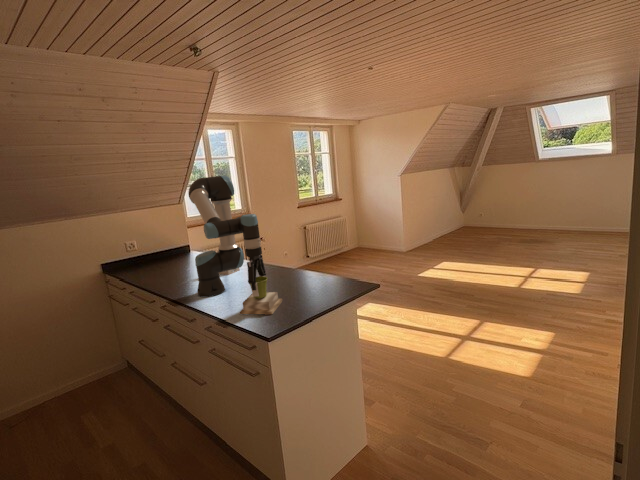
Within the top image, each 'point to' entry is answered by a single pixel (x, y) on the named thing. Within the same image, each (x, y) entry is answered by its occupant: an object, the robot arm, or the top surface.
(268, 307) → the pedestal base
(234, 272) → the grater
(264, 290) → the plant pot
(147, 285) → the top surface
